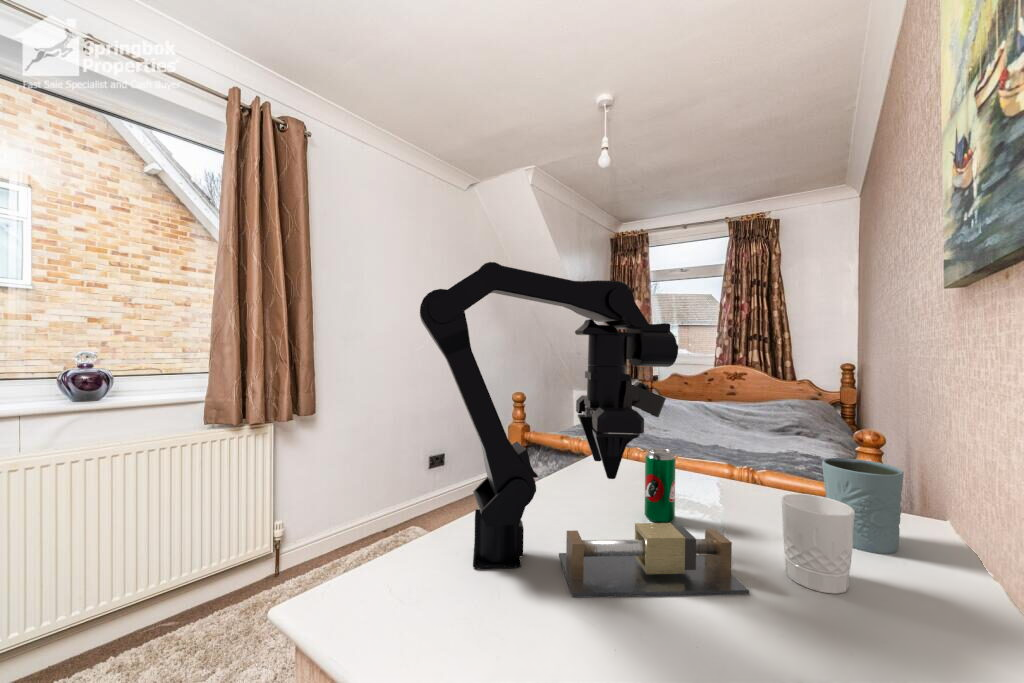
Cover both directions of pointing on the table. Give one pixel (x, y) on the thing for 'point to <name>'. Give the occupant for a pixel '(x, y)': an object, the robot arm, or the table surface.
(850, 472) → the drinking glass
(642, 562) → the sleeve
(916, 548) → the table surface
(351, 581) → the table surface
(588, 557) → the pipe rig
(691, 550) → the dark grey square collar
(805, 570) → the white cup
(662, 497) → the soda can
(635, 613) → the table surface
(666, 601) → the table surface
